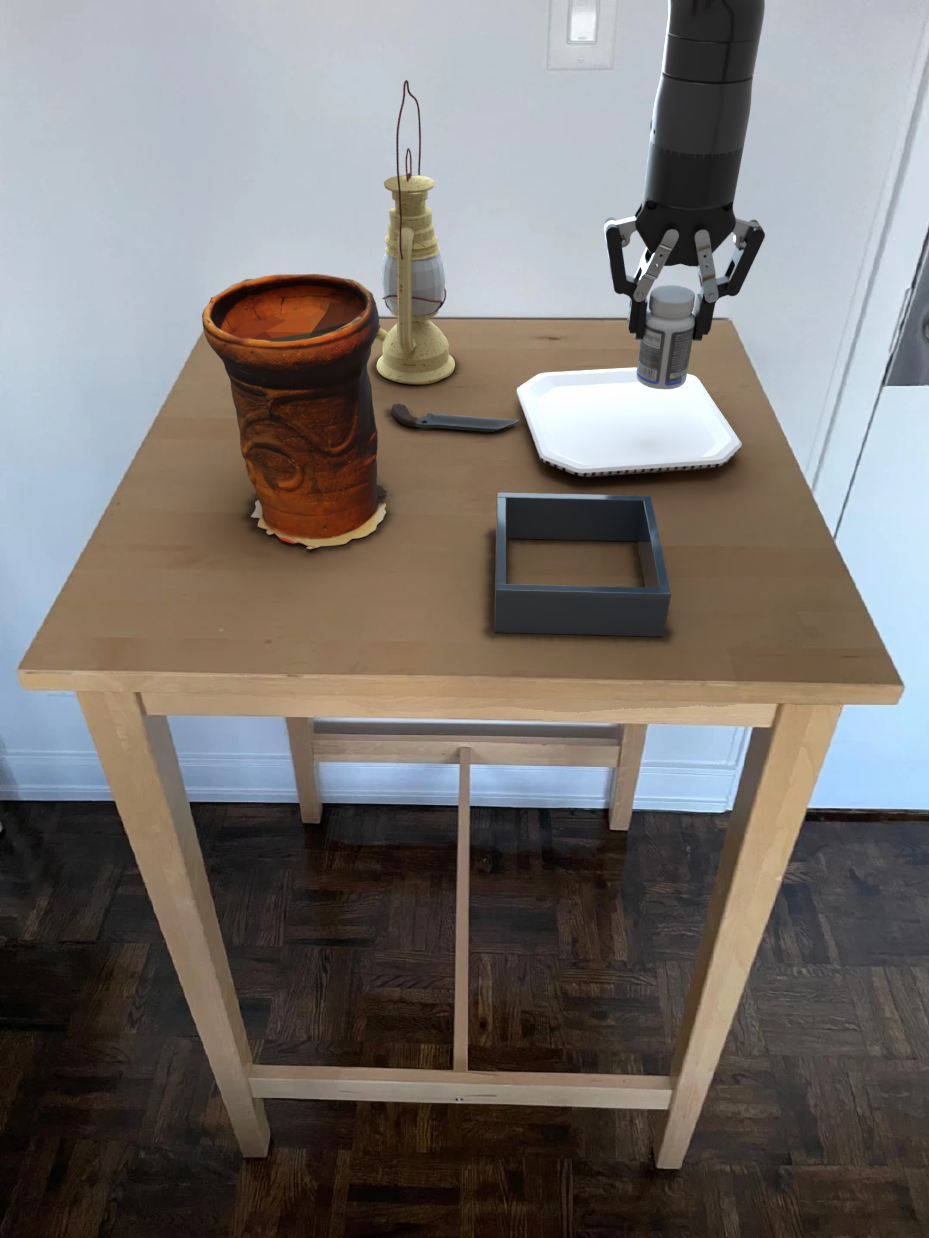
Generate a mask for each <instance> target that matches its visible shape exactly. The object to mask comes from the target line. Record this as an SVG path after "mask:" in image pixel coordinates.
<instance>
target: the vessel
mask: <svg viewBox="0 0 929 1238" xmlns="http://www.w3.org/2000/svg"><path fill="white" fill-rule="evenodd" d="M201 321H202V329H203V333H204V337H205V339H206V341H207V343H208V345H209V346H210V348H211V349H212V350H213V352H214V353H215V354H216V355H217V356H218V358H220V360H221V361H222V362H223V366H224V369H225V372H226V374H227V376H228V378H229V381H230V392H231V396H232V400H233V405H234V408H235V413H236V414H235V415H236V419H237V420H236V421H237V425H238V429H239V445H240V451H241V457H242V458H243V459H244V462H245V469H246V473H247V477H248V479H249V481H250V483H251V485H252V486H253V488H254V491H255V494H256V497H257V500H256V501H255V502H254V505H255V509H254V511H253V513H252V514H251V516H250V518H255V519H258V522H257V527H259V528H260V529H263V530H266V532H265V533H266V534H267V535H268V536H269V535H270V536H271V535H274V534H275V535H276V536H277V538H279V540H281V541H283V542H286V543H290V544H292V545H293V544H297V543H299V544H302V545H305V546H307V547H306V549H308V550H312V549H317V548H320V547H330V546H331V547H333V546H341V545H345V544H347V543H348V542H350V541H352V539H360V538H363V537H367V536H369V534H371V533H373V532H374V531H376V530H377V528H378V527H377V526H378V525H379V524H380V523H381V522H382V521H383V520H384V518H385V515H386V513H387V510H386V507H387V504H386V502H385V500H386V497H383V496H385V495H386V494H387V493H388V491H387V490H386V489H384V488H383V486H382V484H381V481H377V480H378V460H377V459H378V458H377V455H378V441H379V439H378V438H379V437H378V435H379V432H378V428H377V425H376V417H375V409H374V401H373V388H372V383H371V377H370V374H369V372H368V363H369V360H370V357H371V354H372V346H373V344H374V342H375V340H376V336H377V333H378V328H379V325H380V315H379V311H378V307H377V302H376V300H375V298H374V294H373V292H371V291H370V290H368V289H367V288H366V287H365V286H364V285H363V284H361V283H360V282H359V281H357V280H354V279H351V278H345V277H344V278H343V277H339V276H333V275H329V274H322V273H321V274H320V273H305V274H301V273H299V274H296V273H295V274H293V273H292V274H290V273H289V274H285V273H284V274H271V275H263V276H259V277H255V278H245V279H243V280H241V281H239V282H236V283H234V284H231V285H230V286H228V287H227V288H226V289H224V290H222V291H221V292H220V293H218V294H216V295H214V296H212V297H210V300H209V302H208V303H207V305H205V307H204V309H203V311H202V314H201Z"/></svg>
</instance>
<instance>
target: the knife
mask: <svg viewBox="0 0 929 1238" xmlns="http://www.w3.org/2000/svg"><path fill="white" fill-rule="evenodd" d="M390 412H391V414H392V415H393V417H394V418H395V419H396V420H397V421H398V422H400V423H401V424H402V425H405V426H408V427H412V428H416V427H418V428H424V429H425V428H426V429H428V428H429V429H430V428H431V429H432V428H434V429H435V428H437V429H439V428H440V429H452V430H463V431H464V430H465V431H476V432H489V433H490V432H491V433H493V432H495V431H497V430H502V429H505V428H507V427H510V426H513V425H515V424H517V423H519V422H520V419H506V418H496V417H494V418H493V417H483V416H470V415H457V414H446V413H445V414H444V413H432V412H428V413H426V415H425V417H422V418H418V417H416V416H412V415H411V414H410V413H409V409H408V407H407V406H406V405H405V404H402V403H394V404H393V405H392V407H391V409H390Z"/></svg>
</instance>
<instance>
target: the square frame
mask: <svg viewBox="0 0 929 1238" xmlns="http://www.w3.org/2000/svg"><path fill="white" fill-rule="evenodd" d="M495 517H496V518H495V519H496V520H495V563H494V565H495V567H494V570H495V571H494V625H493V626H494V630H493V631H494V633H499V634H501V633H502V634H538V635H539V634H541V635H582V636H585V635H586V636H620V637H624V636H625V637H656V638H657V637H660V638H661V637H664V634H665V628H666V624H667V623H666V622H667V618H668V613H669V608H670V603H671V598H672V591H671V585H670V581H669V576H668V571H667V567H666V561H665V557H664V553H663V548H662V543H661V537H660V533H659V527H658V523H657V517H656V513H655V509H654V502H653V499H652V496H651V495H635V494H633V495H630V494H629V495H628V494H623V495H622V494H588V493H587V494H585V493H583V494H581V493H579V494H578V493H542V492H539V493H537V492H497V493H496V515H495ZM507 539H511V540H512V539H515V540H516V539H517V540H518V539H519V540H556V541H557V540H558V541H559V540H561V541H562V540H563V541H601V542H602V541H603V542H605V541H606V542H637V543H636V544H637V550H638V556H639V561H640V565H641V566H640V567H641V573H642V579H643V584H644V587H643V586H640V587H638V586H602V585H601V586H599V585H598V586H597V585H595V586H594V585H561V584H559V585H557V584H556V585H555V584H552V585H551V584H522V583H521V584H518V583H517V584H515V583H507Z"/></svg>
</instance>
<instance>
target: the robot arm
mask: <svg viewBox="0 0 929 1238" xmlns="http://www.w3.org/2000/svg"><path fill="white" fill-rule="evenodd" d="M667 1H668V5H667V7H668V17H667V25H666V33H665V41H664V48H663V49H664V50H663V57H662V64H661V65H662V66H661V73H660V78H659V83H658V87H657V90H656V94H655V100H654V104H653V111H652V118H651V119H650V123H649V124H650V125H649V131H650V132H649V133H650V135H649V144H648V151H647V152H648V153H647V161H646V167H645V168H646V170H645V177H644V185H643V193H642V200H641V203H640V206H639V207H638V208H637V210H636V212H635V214H634V216H631V217H626V218H622V219H618V220H617V219H616V218H615V217H611V216H610V217H607V218H606V219H605V220H604V221H603V231H604V238H605V243H606V250H607V251H606V252H607V257H608V263H609V271H610V276H611V282H612V286H613V287H612V288H613V290H614V292H615V293H616V294H617V295H622V294H623V295H625V296H627V297H628V298H629V302H628V309H627V310H628V311H627V319H626V323H627V327H628V331H629V334H633V339H634V340H636V341H640V340H643V335H644V327H645V320H646V312H647V311H648V306H649V300H648V297H647V296H648V295H649V293H650V292H651V289H652V287H653V285H654V283H655V281H656V280H658V279H659V277H660V274H661V273H662V270H663V268H664V267H673V266H677V265H684V266H685V267H696V270H697V274H698V280H699V287H700V291H699V293H696V295H695V301H694V308H693V315H694V317H695V327H694V334H693V340H692V342H702V341H703V338H704V337H703V336H704V335H705V336H708V334H709V333H710V332H711V329H712V323H713V318H714V313H715V307H716V303H717V302H718V300H719V299H721V298H723V297H726V296H729V297H735V296H737V295H739V293H740V291H741V289H742V287H743V285H744V283H745V281H746V279H747V276H748V274H749V272H750V270H751V268H752V266H753V263H754V261H755V259H756V257H757V255H758V253H759V251H760V248H761V247H762V244H763V243H764V241H765V237H766V233H765V231H764V229H763V227H762V225H761V224H760V223H759V221H758V220H757V219H751V220H748V221H747V220H743V219H740V218H736V215H735V211H734V203H735V197H736V193H737V185H738V180H739V175H740V170H741V164H742V159H743V153H744V147H745V142H746V137H747V136H746V135H747V131H748V126H749V120H750V114H751V108H752V93H753V92H752V91H753V81H754V74H755V68H756V64H757V63H756V62H757V58H758V57H757V56H758V51H759V45H760V40H761V36H762V35H761V34H762V30H763V24H764V19H765V18H764V17H765V9H766V1H765V0H667ZM634 232H637V233H638V235H639V237H640V238H641V241H642V242H643V244H644V245H645V249H644V252H643V253H642V256H641V258H640V260H639V265H638V267H637V270H636V272H635V274H634V276H632V275H628V274H627V273H626V264H625V259H624V252H623V248H625V247H627V246H628V245H630V243H631V237H632V235H633V233H634ZM732 233H733V238H732V241H733V243H734V246H735V248H734V250H733V253H732V255H731V256H730V259H729V261H728V263H727V266H726V268H725V270H724V273H723V275H722V276H721V277H720V276H719V277H716V276H717V275H716V274H717V273H716V268H715V263H714V257H713V254H714V252H716V250H718V248H719V247H720V246H721V245H722V244H723V243H724V242H725V241H726V240H727V238H728V237H729V236H730V235H731V234H732Z"/></svg>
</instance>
